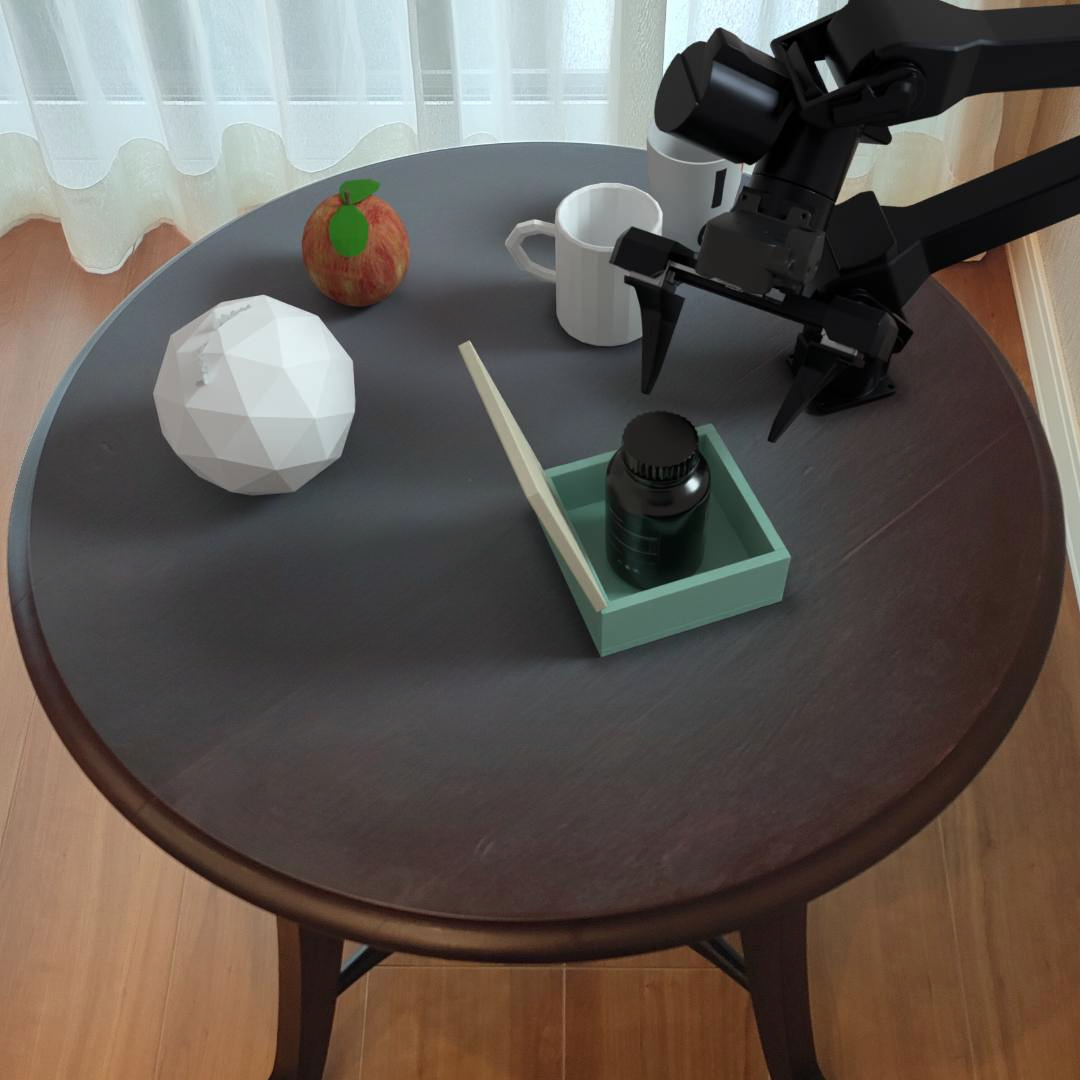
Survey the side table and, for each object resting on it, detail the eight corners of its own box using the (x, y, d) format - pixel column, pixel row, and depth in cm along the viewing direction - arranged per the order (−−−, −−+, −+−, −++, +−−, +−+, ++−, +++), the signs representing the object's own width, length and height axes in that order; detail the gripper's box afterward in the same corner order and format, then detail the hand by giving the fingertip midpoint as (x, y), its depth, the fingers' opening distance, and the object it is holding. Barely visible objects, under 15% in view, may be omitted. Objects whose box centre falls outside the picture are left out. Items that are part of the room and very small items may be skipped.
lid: (469, 339, 78) (457, 345, 78) (539, 491, 71) (526, 497, 71) (540, 464, 90) (530, 470, 90) (607, 607, 82) (596, 613, 82)
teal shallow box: (706, 469, 96) (711, 422, 92) (781, 601, 89) (791, 556, 85) (537, 517, 94) (535, 471, 90) (600, 657, 86) (602, 614, 83)
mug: (513, 276, 110) (508, 178, 102) (657, 281, 109) (663, 182, 101) (504, 343, 105) (498, 246, 97) (655, 349, 104) (661, 251, 96)
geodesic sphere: (305, 538, 85) (321, 318, 82) (101, 504, 88) (107, 287, 84) (376, 491, 100) (392, 301, 96) (199, 462, 102) (208, 276, 98)
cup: (709, 276, 109) (719, 176, 101) (624, 244, 112) (627, 144, 104) (752, 222, 113) (766, 122, 106) (669, 192, 116) (676, 92, 108)
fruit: (295, 321, 107) (273, 221, 99) (332, 246, 113) (313, 146, 105) (397, 335, 106) (382, 236, 98) (429, 258, 111) (417, 159, 104)
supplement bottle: (638, 501, 94) (645, 381, 84) (721, 544, 91) (738, 425, 82) (584, 564, 90) (585, 447, 81) (668, 611, 88) (680, 496, 78)
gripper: (626, 119, 80) (541, 362, 83) (921, 211, 74) (818, 468, 77) (674, 158, 91) (597, 373, 94) (936, 241, 85) (845, 467, 88)
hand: (706, 417), depth 88 cm, fingers open, 9 cm apart
